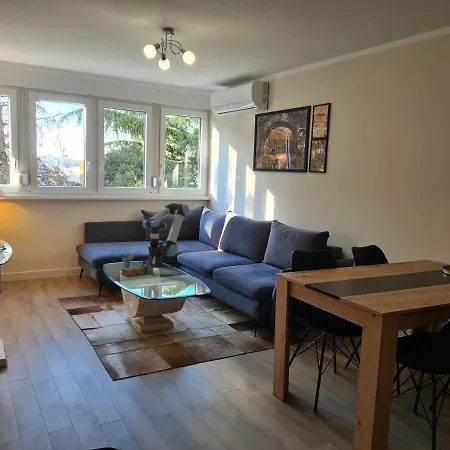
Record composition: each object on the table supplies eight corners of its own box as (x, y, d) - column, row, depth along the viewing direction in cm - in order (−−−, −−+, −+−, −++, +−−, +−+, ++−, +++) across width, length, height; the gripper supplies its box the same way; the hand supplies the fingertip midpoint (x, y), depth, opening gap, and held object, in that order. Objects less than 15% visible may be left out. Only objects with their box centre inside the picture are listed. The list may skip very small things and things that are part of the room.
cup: (118, 271, 392) (118, 254, 390) (116, 269, 399) (117, 252, 397) (134, 270, 398) (134, 254, 396) (131, 268, 405) (132, 252, 403)
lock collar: (147, 270, 399) (147, 259, 398) (153, 272, 391) (153, 262, 390) (141, 270, 396) (141, 260, 394) (147, 273, 388) (147, 262, 386)
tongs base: (146, 271, 397) (146, 265, 396) (149, 272, 393) (149, 267, 392) (121, 274, 382) (121, 268, 382) (124, 275, 378) (124, 269, 377)
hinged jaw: (142, 272, 390) (142, 267, 389) (144, 273, 387) (144, 268, 387) (123, 275, 379) (124, 269, 378) (125, 275, 376) (125, 270, 376)
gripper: (158, 236, 400) (157, 262, 403) (146, 237, 392) (145, 263, 395) (163, 238, 394) (161, 264, 397) (150, 239, 386) (149, 265, 389)
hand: (153, 263), depth 396 cm, fingers closed
